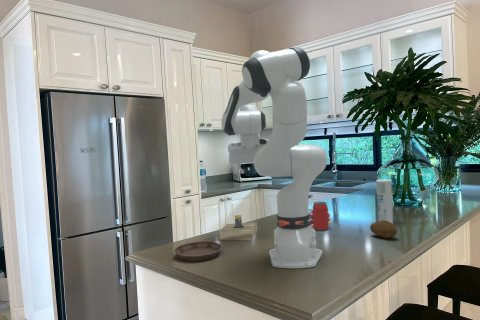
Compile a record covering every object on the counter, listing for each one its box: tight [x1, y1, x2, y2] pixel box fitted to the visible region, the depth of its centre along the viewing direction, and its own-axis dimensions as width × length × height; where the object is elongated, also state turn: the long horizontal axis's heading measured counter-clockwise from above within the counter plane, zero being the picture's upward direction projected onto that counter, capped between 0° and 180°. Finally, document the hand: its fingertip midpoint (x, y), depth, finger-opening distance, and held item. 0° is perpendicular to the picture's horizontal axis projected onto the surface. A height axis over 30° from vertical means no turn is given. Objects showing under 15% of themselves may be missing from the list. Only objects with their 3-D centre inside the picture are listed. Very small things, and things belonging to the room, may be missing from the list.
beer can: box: [312, 201, 330, 231], centre depth 161 cm, size 7×7×12 cm
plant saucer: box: [174, 241, 223, 262], centre depth 135 cm, size 18×18×3 cm
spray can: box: [375, 179, 394, 225], centre depth 163 cm, size 6×6×20 cm
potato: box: [369, 220, 398, 239], centre depth 142 cm, size 7×12×7 cm, turn 36°
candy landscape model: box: [308, 206, 332, 228], centre depth 177 cm, size 25×24×9 cm
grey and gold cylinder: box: [234, 214, 243, 228], centre depth 159 cm, size 3×3×9 cm
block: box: [218, 222, 258, 241], centre depth 159 cm, size 14×14×4 cm
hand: (252, 172), depth 159 cm, fingers open, 8 cm apart
